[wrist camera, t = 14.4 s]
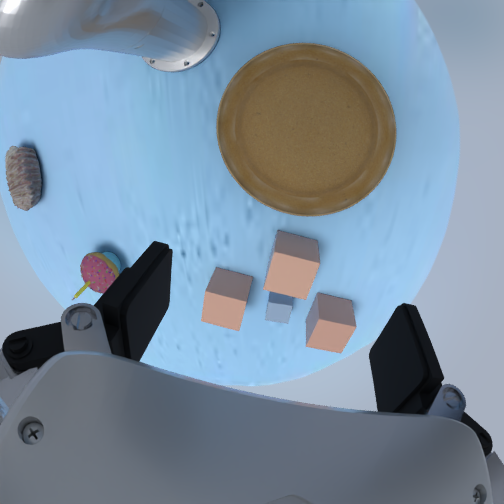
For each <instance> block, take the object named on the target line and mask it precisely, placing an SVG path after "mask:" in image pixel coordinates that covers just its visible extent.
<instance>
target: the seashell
mask: <svg viewBox="0 0 504 504" xmlns="http://www.w3.org/2000/svg"><path fill="white" fill-rule="evenodd" d="M5 161H6V175H7V177H6V179H7V181H8V183H7V184H8V186H9V191H10V192H11V194H10V195H11V196H12V199H13V203H14V204H15V205H14V206H17V207H18V208H20V209H22V210H25V211H28V210H29V209H30V208H32V207H33V206H34V205H36V204H37V202H38V201H39V199H40V195H41V193H40V192H41V186H42V185H41V174H40V167H39V162H38V160H37V156H36V153H35V150H33V149H32V148H27V147H20V148H18V147H16V146H12V147H10V149H9V150H8V151H7V153H6V159H5Z"/></svg>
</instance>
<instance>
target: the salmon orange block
mask: <svg viewBox="0 0 504 504" xmlns="http://www.w3.org/2000/svg"><path fill="white" fill-rule="evenodd" d="M355 329H356V322H355V316H354V311H353V306H352V301H351V300H347V299H343V298H339V297H334V296H330V295H326V294H322V293H317V295H316V297H315V299H314V302H313V304H312V307H311V309H310V311H309V314H308V316H307V318H306V347H311V348H316V349H321V350H326V351H331V352H337V353H342V351H343V349H344V348H345V346H346V344H347V343H348V341H349V339H350V337H351V336H352V334H353V332H354V330H355Z"/></svg>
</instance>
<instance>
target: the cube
mask: <svg viewBox="0 0 504 504" xmlns="http://www.w3.org/2000/svg"><path fill="white" fill-rule="evenodd" d="M292 306H293V297H292V296H288V295H284V294H280V293H275V292H271V291H270V294H269V299H268V305H267V311H266V318H265V320H268V321H274V322H280V323H287V324H288V322H289V318H290V314H291V310H292Z"/></svg>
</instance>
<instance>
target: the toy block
mask: <svg viewBox="0 0 504 504" xmlns="http://www.w3.org/2000/svg"><path fill="white" fill-rule="evenodd" d="M319 265H320V258H319V249H318V241H317V240H314V239H310V238H306V237H302V236H298V235H295V234H291V233H287V232H283V231H279V230H277V234H276V237H275V241H274V244H273V248H272V252H271V255H270V259H269V262H268V266H267V272H266V277H265V283H264V288H263V290H267V291H271V292H275V293H280V294H284V295H288V296H292V297H296V298H300V299H304V300H306V298H307V296H308V293H309V291H310V288H311V286H312V283H313V281H314V278H315V276H316V273H317V270H318V268H319Z"/></svg>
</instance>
